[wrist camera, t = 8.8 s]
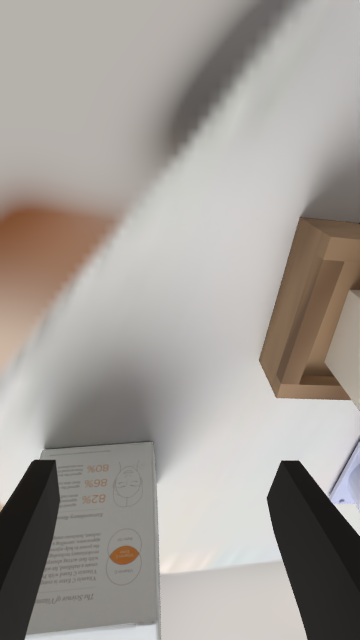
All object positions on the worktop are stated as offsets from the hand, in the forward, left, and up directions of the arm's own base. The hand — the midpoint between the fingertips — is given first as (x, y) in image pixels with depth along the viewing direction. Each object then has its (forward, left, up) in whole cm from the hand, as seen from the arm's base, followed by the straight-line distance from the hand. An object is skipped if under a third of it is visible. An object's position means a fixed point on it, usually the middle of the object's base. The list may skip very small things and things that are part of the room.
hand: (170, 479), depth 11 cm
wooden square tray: (-11, -2, -10) cm, 15 cm away
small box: (+3, +13, -10) cm, 17 cm away
